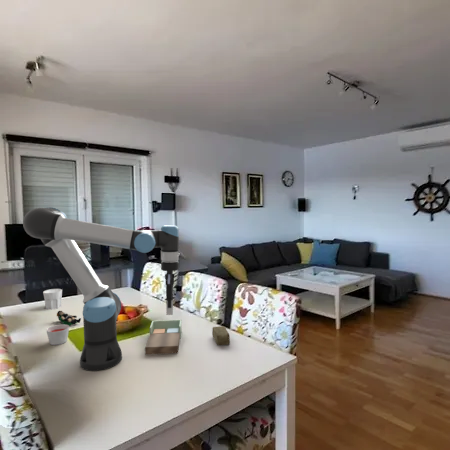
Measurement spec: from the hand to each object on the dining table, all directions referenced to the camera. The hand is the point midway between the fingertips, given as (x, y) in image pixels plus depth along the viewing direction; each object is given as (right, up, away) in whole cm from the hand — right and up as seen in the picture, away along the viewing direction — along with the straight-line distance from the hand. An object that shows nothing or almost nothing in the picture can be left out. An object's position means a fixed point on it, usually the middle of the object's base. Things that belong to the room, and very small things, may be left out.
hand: (169, 314), depth 144 cm
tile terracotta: (-6, -11, +5) cm, 13 cm away
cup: (-79, -10, +53) cm, 96 cm away
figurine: (-57, -12, +25) cm, 63 cm away
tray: (-3, -12, +7) cm, 14 cm away
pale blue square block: (+1, -11, +5) cm, 12 cm away
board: (-2, -12, -5) cm, 13 cm away
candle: (-49, -13, +1) cm, 51 cm away
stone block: (+23, -12, +1) cm, 26 cm away
